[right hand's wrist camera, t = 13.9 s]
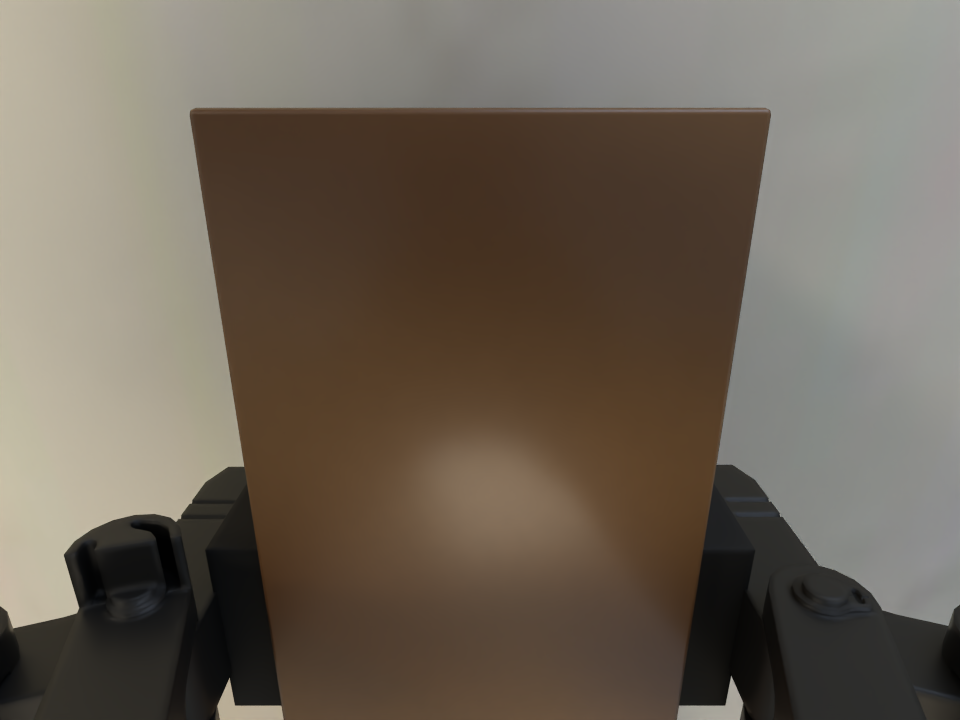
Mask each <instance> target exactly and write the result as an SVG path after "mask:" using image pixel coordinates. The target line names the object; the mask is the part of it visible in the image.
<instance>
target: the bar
mask: <svg viewBox="0 0 960 720" xmlns="http://www.w3.org/2000/svg"><path fill="white" fill-rule="evenodd" d="M770 117H771V113H770V110H768V109H766V108H194V109H192V110H191V111H190V120H191V126H192V132H193V139H194V145H195V152H196V158H197V165H198V171H199V177H200V184H201V190H202V197H203V203H204V210H205V216H206V222H207V229H208V235H209V242H210V248H211V255H212V261H213V267H214V274H215V280H216V287H217V293H218V300H219V306H220V312H221V319H222V325H223V332H224V338H225V345H226V351H227V357H228V364H229V370H230V377H231V383H232V390H233V396H234V402H235V409H236V415H237V422H238V428H239V435H240V441H241V447H242V454H243V460H244V467H245V473H246V480H247V486H248V492H249V499H250V505H251V512H252V518H253V525H254V531H255V537H256V544H257V550H258V557H259V563H260V570H261V576H262V582H263V589H264V595H265V602H266V608H267V615H268V621H269V627H270V634H271V640H272V647H273V653H274V660H275V666H276V672H277V679H278V685H279V692H280V698H281V705H282V711H283V717H284V720H677V714H678V708H679V701H680V695H681V688H682V682H683V676H684V669H685V663H686V656H687V650H688V643H689V637H690V631H691V624H692V618H693V611H694V605H695V599H696V592H697V586H698V579H699V573H700V566H701V560H702V554H703V547H704V541H705V534H706V528H707V522H708V515H709V509H710V502H711V496H712V489H713V483H714V477H715V470H716V464H717V457H718V451H719V445H720V438H721V432H722V425H723V419H724V412H725V406H726V400H727V393H728V387H729V380H730V374H731V367H732V361H733V355H734V348H735V342H736V335H737V329H738V323H739V316H740V310H741V303H742V297H743V290H744V284H745V278H746V271H747V265H748V258H749V252H750V246H751V239H752V233H753V226H754V220H755V213H756V207H757V201H758V194H759V188H760V181H761V175H762V169H763V162H764V156H765V149H766V143H767V136H768V130H769V124H770Z"/></svg>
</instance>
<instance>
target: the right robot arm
mask: <svg viewBox="0 0 960 720" xmlns="http://www.w3.org/2000/svg"><path fill="white" fill-rule="evenodd" d="M779 514H780V513H779V512H778V510H777V509H776V508H775V506H774V505H773V504H772V502H769V500H768V497H767V496H766V494H765V493H764V492H763V490H762V489H761V488H760V486H759V485H758V484H757V482H756V481H755V480H754V479H752V478H751V477H749V476H748V475H746V474H745V473H744V472H742V471H741V470H739V469H738V468H736V467H735V466H733V465H716V470H715V477H714V483H713V489H712V496H711V502H710V509H709V515H708V522H707V528H706V534H705V541H704V547H703V554H702V560H701V566H700V573H699V579H698V586H697V592H696V599H695V605H694V611H693V618H692V624H691V631H690V637H689V643H688V650H687V656H686V663H685V669H684V676H683V682H682V688H681V695H680V701H679V705H725V704H726V699H727V694H728V689H729V684H730V679H731V676H732V678H733V680H734V683H735V685H736V687H737V689H738V691H739V694H740V696H741V698H742V700H743V708H742V713H741V717H740V720H960V605H959V606H958V607H957V608H955V609H954V611H953V614H952V617H951V620H950V623H949V626H945V625H941V624H936V623H932V622H927V621H923V620H918V619H914V618H909V617H905V616H900V615H896V614H893V613H889V612H886V611H882V609H881V607H880V606H879V604H878V603H877V601H876V600H875V598H874V597H873V595H872V594H871V593H870V592H869V591H868V590H866V589H865V588H864V587H863V586H861V585H860V584H859V583H858V582H856V581H855V580H853V579H851V578H849V577H847V576H845V575H843V574H841V573H839V572H837V571H835V570H832V569H828V568H825V567H821V566H818V564H817V563H816V561H815V560H814V559H813V557H812V556H811V555H810V553H809V552H808V551H807V549H806V548H805V547H804V545H803V544H802V543H801V541H800V540H799V539H798V537H797V536H796V535H795V533H794V532H793V531H792V529H791V528H790V527H789V525H788V524H787V522H786V521H785V520H784V518H783V517H780V515H779ZM64 557H65V561H66V564H67V567H68V571H69V574H70V578H71V581H72V584H73V588H74V591H75V595H76V598H77V601H78V605H79V610H78V613H77V614H74V615H70V616H67V617H63V618H59V619H54V620H50V621H45V622H41V623H36V624H32V625H27V626H23V627H18V628H14V629H13V627H12V624H11V621H10V618H9V616H8V613H7V611H5V610H4V609H3V608H2V607H0V720H220V718H219V713H218V708H217V705H218V703H219V700H220V698H221V696H222V693H223V691H224V689H225V687H226V684H227V682H228V680H229V678H230V681H231V687H232V692H233V697H234V702H235V705H281V698H280V692H279V685H278V679H277V672H276V666H275V660H274V653H273V647H272V640H271V634H270V627H269V621H268V615H267V608H266V602H265V595H264V589H263V582H262V576H261V570H260V563H259V557H258V550H257V544H256V537H255V531H254V525H253V518H252V512H251V505H250V499H249V492H248V486H247V480H246V473H245V467H228V468H226V469H225V470H223V471H222V472H220V473H219V474H217V475H216V476H214V477H213V478H211V479H210V480H208V481H207V482H206V483H205V484H204V485H203V487H202V488H201V489H200V491H199V492H198V493H197V495H196V496H195V498H194V499H193V500H192V504H189V506H188V507H187V508H186V510H185V511H184V512H183V514H182V515H181V519H178V521H177V522H175V521H174V520H172V519H171V518H169V517H165V516H161V515H156V514H148V515H133V516H129V517H125V518H121V519H117V520H113V521H111V522H108V523H106V524H104V525H101V526H99V527H97V528H94V529H92V530H91V531H89V532H88V533H86V534H85V535H83V536H82V537H80V538H79V539H78V540H76V541H75V542H74V543H73V544H72V545H71V547H70V548H69V549H68V550H67V552H66V553H65V554H64Z"/></svg>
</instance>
